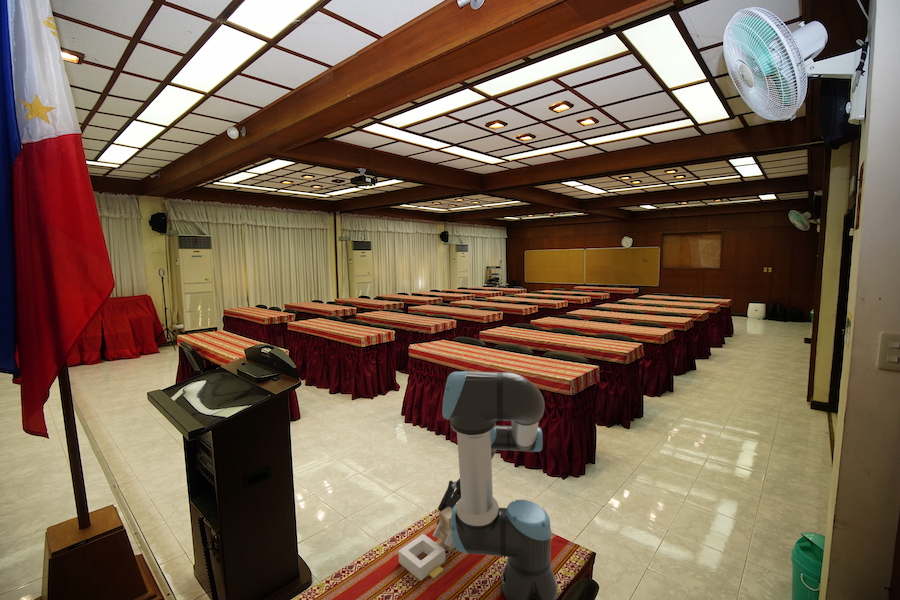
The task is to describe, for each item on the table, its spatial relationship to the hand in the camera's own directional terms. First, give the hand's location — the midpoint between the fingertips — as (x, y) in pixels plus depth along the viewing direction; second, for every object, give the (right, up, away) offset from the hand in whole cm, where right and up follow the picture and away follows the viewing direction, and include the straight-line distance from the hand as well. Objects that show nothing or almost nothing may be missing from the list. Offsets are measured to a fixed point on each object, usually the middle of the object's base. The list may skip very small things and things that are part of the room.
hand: (441, 541), depth 125 cm
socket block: (-5, -4, -5) cm, 8 cm away
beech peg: (+3, -3, +3) cm, 5 cm away
